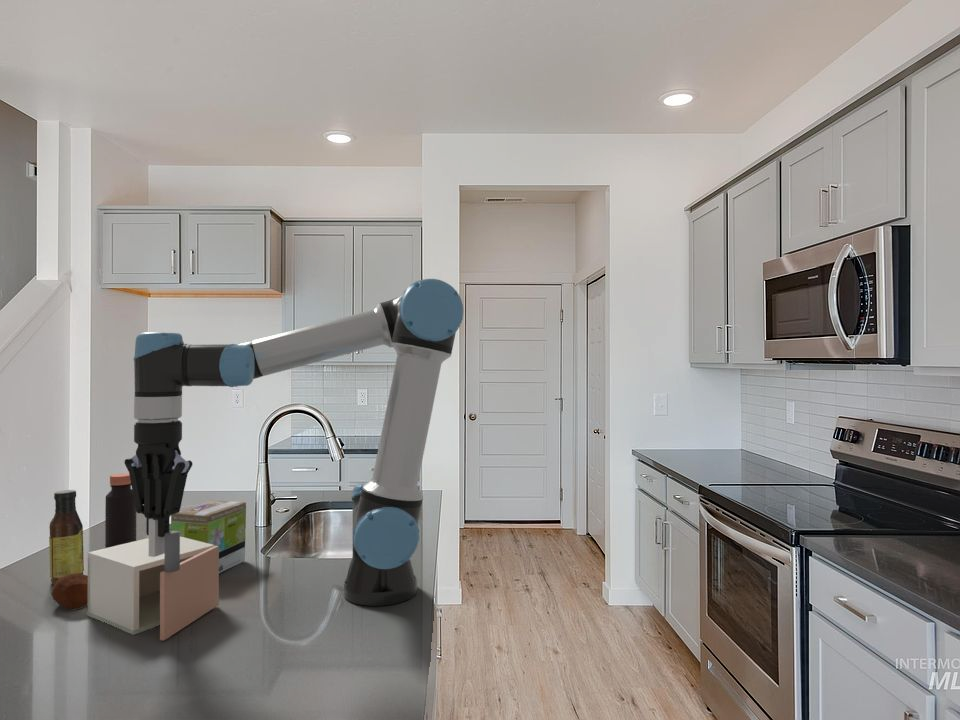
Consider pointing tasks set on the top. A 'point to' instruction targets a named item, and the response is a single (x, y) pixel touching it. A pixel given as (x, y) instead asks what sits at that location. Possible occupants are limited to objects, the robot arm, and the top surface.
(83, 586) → the potato
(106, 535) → the vinegar
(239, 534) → the tea box
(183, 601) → the side door
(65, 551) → the sauce bottle
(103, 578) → the case
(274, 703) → the top surface
